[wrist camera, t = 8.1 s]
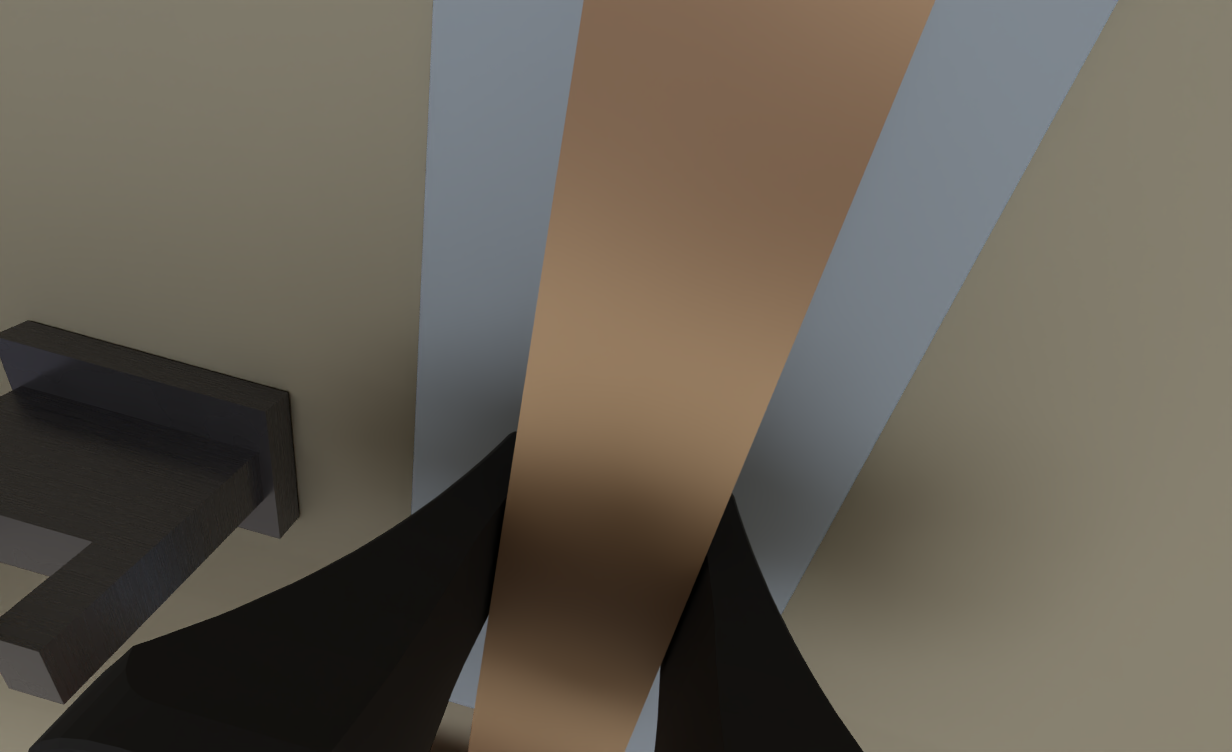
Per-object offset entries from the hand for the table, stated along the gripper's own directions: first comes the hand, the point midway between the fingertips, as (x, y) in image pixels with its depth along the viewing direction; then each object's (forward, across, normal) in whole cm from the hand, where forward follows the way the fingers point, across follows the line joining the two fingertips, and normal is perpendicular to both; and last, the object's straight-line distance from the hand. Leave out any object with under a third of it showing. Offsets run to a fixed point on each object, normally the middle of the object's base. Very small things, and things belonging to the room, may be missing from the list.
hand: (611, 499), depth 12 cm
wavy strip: (0, 0, 0) cm, 1 cm away
